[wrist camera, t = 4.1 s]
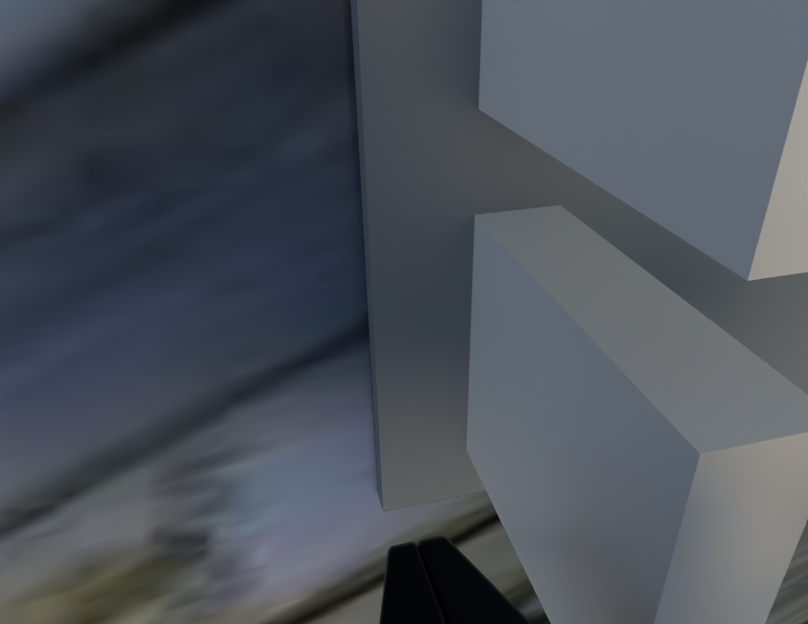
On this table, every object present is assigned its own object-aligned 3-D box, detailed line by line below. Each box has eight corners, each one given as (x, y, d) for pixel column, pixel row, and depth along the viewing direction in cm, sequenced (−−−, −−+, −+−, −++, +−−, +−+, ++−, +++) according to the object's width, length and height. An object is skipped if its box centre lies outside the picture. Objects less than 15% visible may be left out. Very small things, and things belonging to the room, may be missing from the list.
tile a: (569, 203, 13) (862, 421, 7) (543, 435, 16) (733, 724, 10) (474, 214, 13) (699, 454, 7) (466, 449, 16) (616, 759, 10)
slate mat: (1209, -412, 11) (1258, -430, 10) (869, 397, 19) (886, 409, 19) (322, -514, 8) (328, -547, 7) (378, 494, 16) (383, 511, 16)
